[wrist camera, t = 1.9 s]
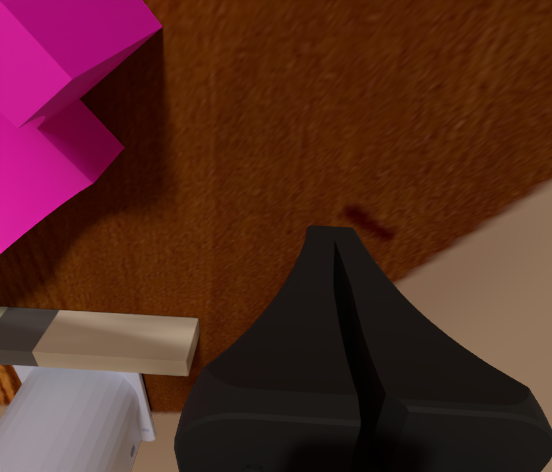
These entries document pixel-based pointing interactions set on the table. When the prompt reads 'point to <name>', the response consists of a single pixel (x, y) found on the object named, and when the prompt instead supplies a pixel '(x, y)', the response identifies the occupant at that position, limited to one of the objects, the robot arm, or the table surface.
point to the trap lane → (97, 341)
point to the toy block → (57, 99)
